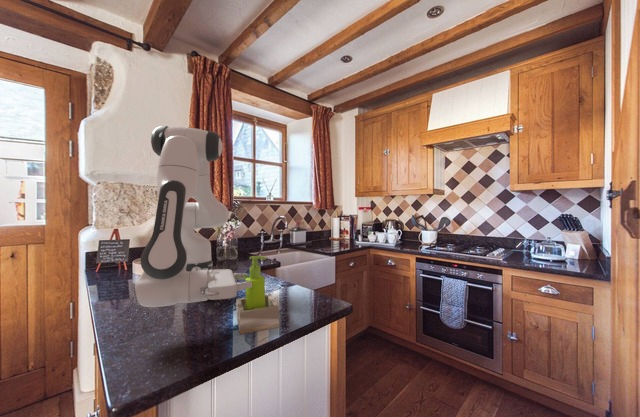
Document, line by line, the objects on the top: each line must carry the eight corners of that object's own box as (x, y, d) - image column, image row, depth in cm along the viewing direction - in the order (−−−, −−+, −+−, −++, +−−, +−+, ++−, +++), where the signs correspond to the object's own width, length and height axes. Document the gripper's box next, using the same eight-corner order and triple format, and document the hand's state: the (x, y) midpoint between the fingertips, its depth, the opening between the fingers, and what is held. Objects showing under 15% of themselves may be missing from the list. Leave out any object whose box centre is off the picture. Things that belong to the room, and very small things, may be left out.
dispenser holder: (236, 317, 86) (236, 299, 86) (270, 311, 91) (270, 294, 91) (240, 334, 75) (240, 312, 75) (279, 326, 79) (278, 306, 79)
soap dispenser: (263, 324, 78) (262, 258, 78) (242, 322, 80) (241, 257, 80) (271, 316, 84) (270, 254, 84) (251, 315, 85) (250, 254, 85)
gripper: (199, 284, 67) (254, 278, 72) (202, 267, 86) (245, 263, 91) (200, 308, 67) (254, 300, 72) (202, 286, 86) (245, 281, 91)
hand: (249, 279), depth 82 cm, fingers open, 8 cm apart
